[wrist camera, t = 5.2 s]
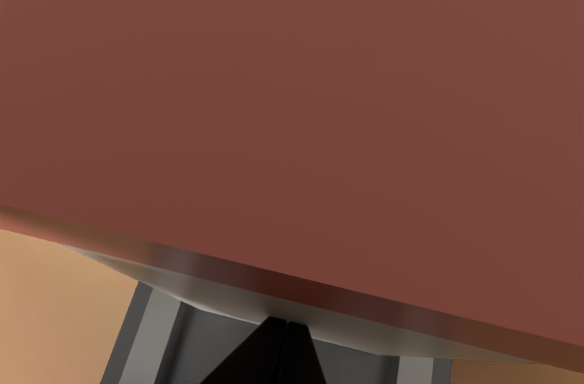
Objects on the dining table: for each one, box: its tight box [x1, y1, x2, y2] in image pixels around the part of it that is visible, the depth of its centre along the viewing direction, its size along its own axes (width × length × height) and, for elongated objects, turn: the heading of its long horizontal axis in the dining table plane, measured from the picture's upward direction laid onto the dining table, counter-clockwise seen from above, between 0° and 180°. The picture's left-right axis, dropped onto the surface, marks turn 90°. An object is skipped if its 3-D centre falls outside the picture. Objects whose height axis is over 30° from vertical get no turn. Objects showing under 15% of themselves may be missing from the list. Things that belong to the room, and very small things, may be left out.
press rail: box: [100, 281, 452, 384], centre depth 14 cm, size 18×11×4 cm, turn 167°
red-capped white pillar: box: [0, 0, 584, 373], centre depth 9 cm, size 5×6×11 cm
